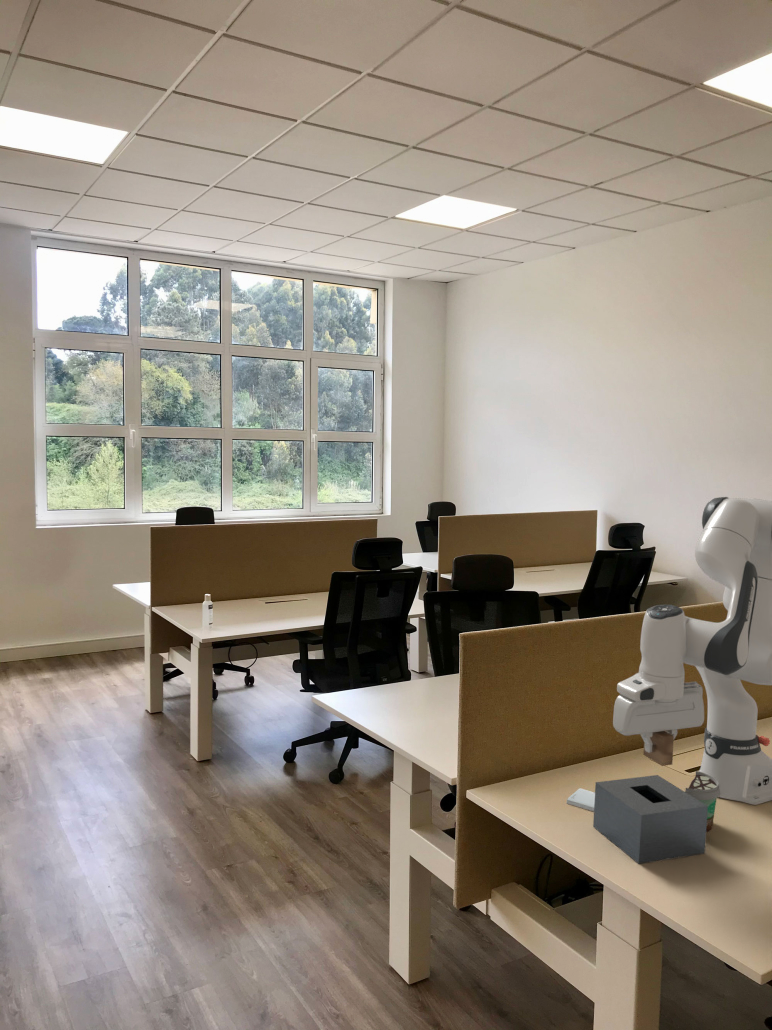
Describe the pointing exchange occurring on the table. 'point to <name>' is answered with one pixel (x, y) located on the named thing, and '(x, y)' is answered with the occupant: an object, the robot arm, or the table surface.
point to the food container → (705, 794)
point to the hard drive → (582, 799)
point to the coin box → (650, 818)
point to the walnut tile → (661, 748)
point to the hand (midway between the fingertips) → (657, 750)
